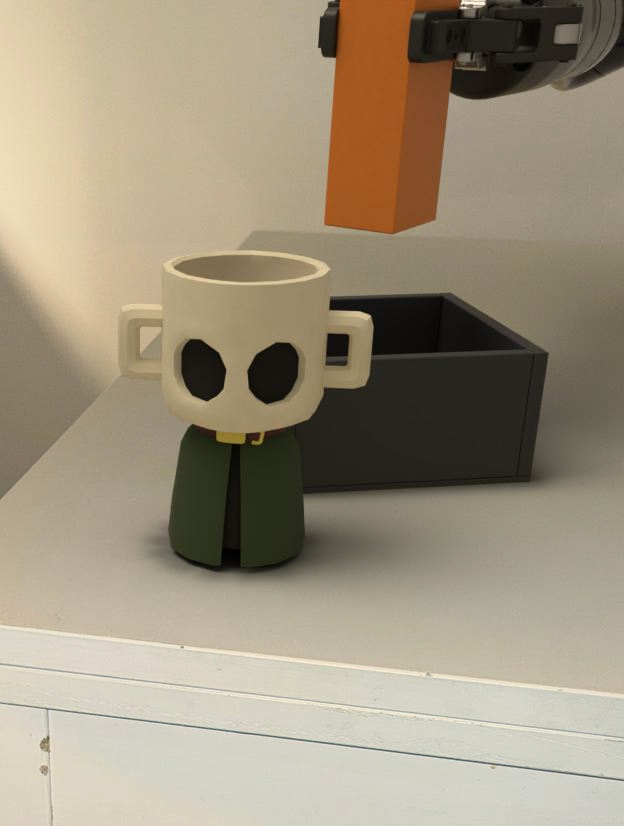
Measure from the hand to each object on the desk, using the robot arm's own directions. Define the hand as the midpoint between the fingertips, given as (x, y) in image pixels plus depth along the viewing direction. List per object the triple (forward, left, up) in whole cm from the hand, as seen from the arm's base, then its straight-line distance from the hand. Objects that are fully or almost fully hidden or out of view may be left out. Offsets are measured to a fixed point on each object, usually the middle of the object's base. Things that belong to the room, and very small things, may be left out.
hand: (372, 35), depth 62 cm
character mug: (+8, +11, -21) cm, 26 cm away
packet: (-2, -2, -9) cm, 9 cm away
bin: (-2, -1, -21) cm, 21 cm away
